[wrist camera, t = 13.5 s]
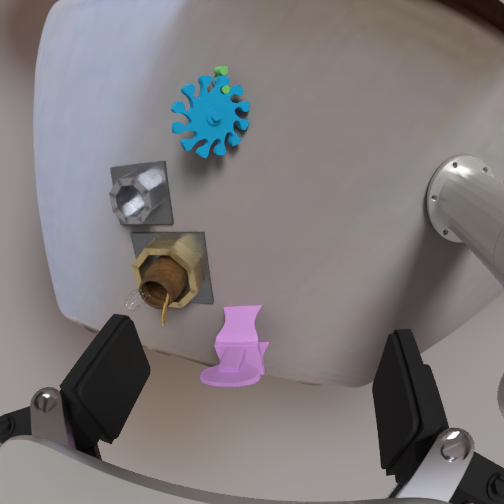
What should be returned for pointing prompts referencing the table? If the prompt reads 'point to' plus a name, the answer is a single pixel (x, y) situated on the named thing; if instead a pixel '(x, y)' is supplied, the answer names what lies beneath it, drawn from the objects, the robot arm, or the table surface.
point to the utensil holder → (162, 284)
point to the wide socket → (183, 252)
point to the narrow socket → (141, 194)
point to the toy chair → (237, 350)
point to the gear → (211, 113)
